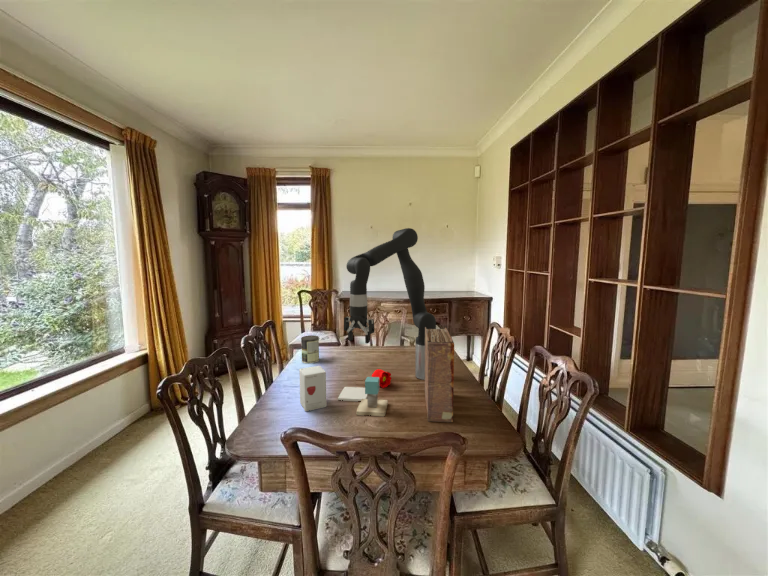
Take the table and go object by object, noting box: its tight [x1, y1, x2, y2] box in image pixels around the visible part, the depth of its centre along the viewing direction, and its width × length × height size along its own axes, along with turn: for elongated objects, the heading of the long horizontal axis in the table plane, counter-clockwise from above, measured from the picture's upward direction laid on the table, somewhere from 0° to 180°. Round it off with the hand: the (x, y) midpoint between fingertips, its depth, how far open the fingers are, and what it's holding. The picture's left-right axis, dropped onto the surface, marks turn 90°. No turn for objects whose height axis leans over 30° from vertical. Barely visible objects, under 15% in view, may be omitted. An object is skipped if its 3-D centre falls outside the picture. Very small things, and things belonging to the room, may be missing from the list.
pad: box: [337, 386, 367, 402], centre depth 140 cm, size 12×12×1 cm
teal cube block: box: [364, 376, 380, 395], centre depth 126 cm, size 5×5×5 cm
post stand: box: [355, 394, 389, 417], centre depth 126 cm, size 11×11×12 cm
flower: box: [371, 368, 392, 389], centre depth 150 cm, size 8×8×8 cm
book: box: [424, 327, 455, 423], centre depth 127 cm, size 25×9×30 cm, turn 175°
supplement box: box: [299, 365, 327, 412], centre depth 130 cm, size 9×9×15 cm
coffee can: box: [300, 335, 320, 364], centre depth 187 cm, size 10×10×14 cm
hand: (358, 341), depth 136 cm, fingers open, 8 cm apart
